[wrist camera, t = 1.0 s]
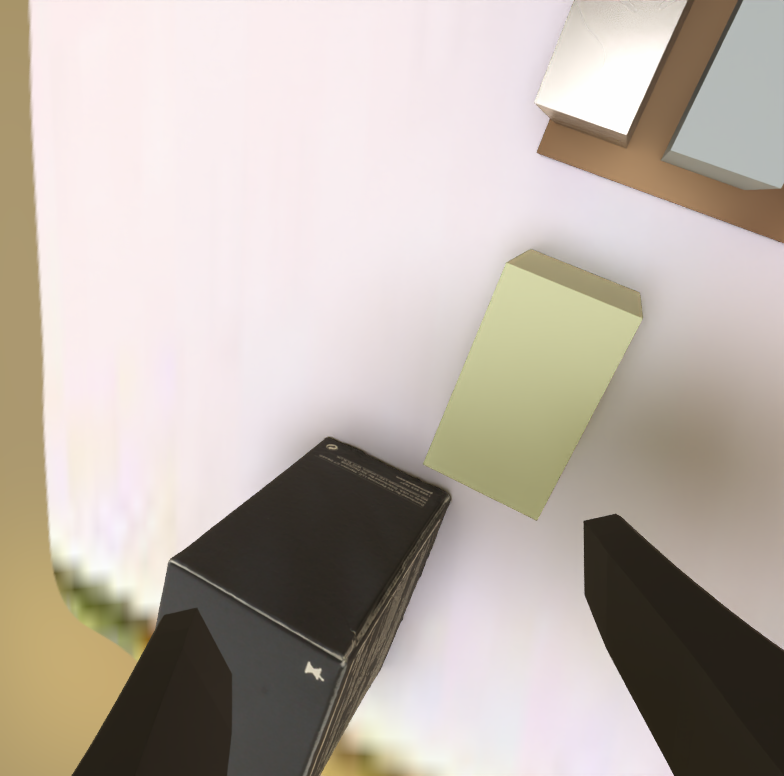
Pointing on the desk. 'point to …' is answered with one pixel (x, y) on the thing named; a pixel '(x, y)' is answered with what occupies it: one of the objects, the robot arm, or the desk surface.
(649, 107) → the walnut board
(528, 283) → the sage book
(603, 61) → the steel bookend
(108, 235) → the desk surface
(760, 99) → the grey-blue block
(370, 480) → the small box
